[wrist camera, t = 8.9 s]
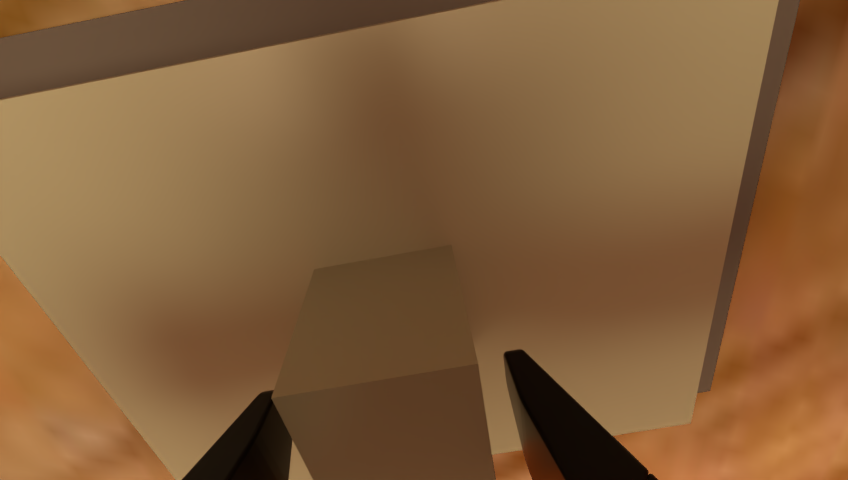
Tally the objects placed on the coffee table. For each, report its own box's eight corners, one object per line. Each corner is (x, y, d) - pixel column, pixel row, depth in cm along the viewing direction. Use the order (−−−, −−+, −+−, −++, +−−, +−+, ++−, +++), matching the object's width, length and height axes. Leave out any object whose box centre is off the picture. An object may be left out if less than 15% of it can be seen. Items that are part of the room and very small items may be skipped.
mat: (817, -127, 9) (829, -132, 9) (705, 385, 17) (710, 391, 16) (-130, 66, 10) (-145, 67, 10) (177, 469, 18) (174, 476, 17)
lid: (717, -44, 9) (1123, -118, 4) (658, 378, 16) (787, 558, 11) (-17, 102, 10) (-474, 200, 5) (215, 450, 17) (129, 653, 11)
